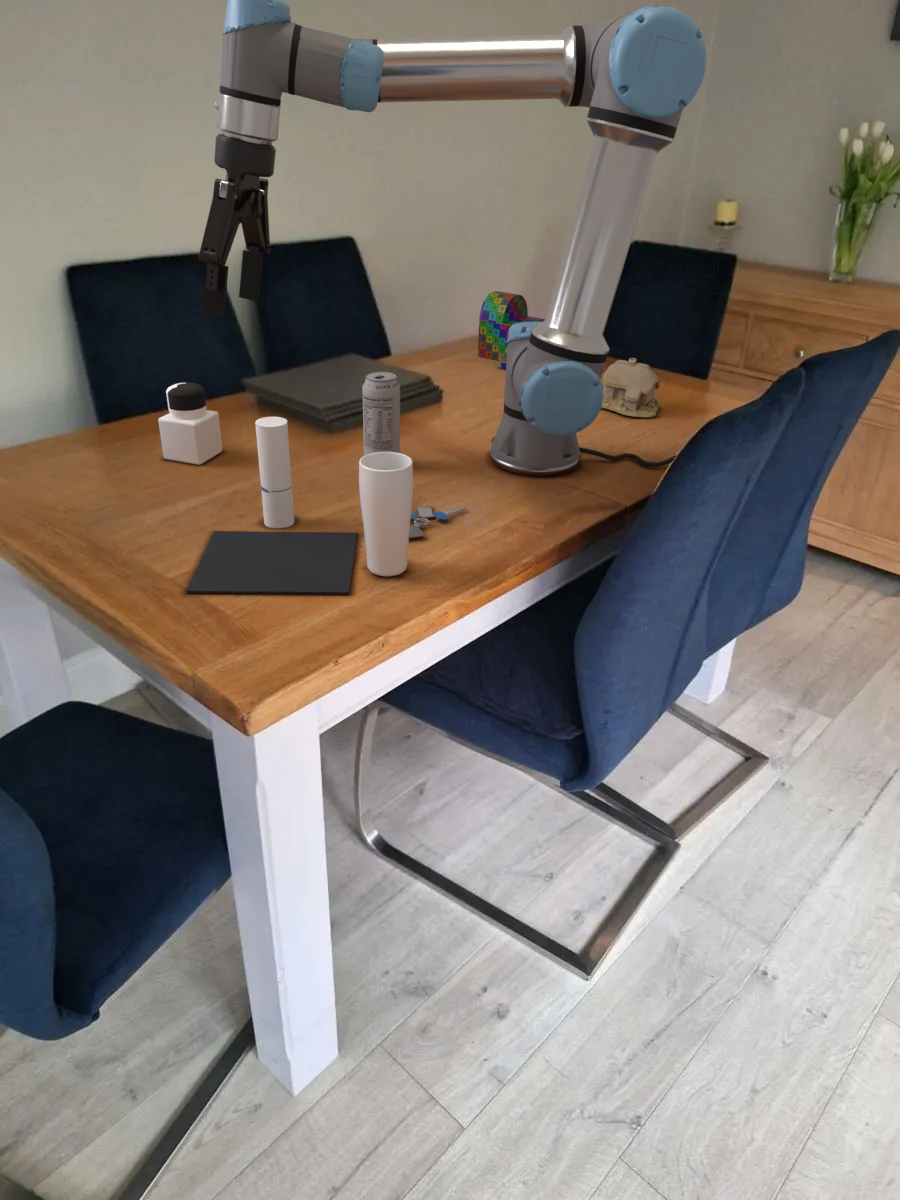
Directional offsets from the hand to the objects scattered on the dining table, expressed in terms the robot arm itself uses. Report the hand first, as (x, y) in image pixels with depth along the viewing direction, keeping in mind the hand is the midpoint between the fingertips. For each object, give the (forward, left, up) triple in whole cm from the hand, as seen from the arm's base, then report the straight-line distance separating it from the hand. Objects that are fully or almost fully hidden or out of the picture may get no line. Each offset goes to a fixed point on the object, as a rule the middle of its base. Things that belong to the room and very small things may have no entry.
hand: (231, 307), depth 122 cm
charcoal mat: (-8, +23, -28) cm, 37 cm away
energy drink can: (-20, -12, -28) cm, 36 cm away
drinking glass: (-22, +25, -28) cm, 44 cm away
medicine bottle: (+12, -15, -28) cm, 34 cm away
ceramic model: (-68, -45, -28) cm, 86 cm away
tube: (-6, +11, -28) cm, 31 cm away
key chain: (-26, +10, -28) cm, 39 cm away
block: (-52, -78, -28) cm, 98 cm away
